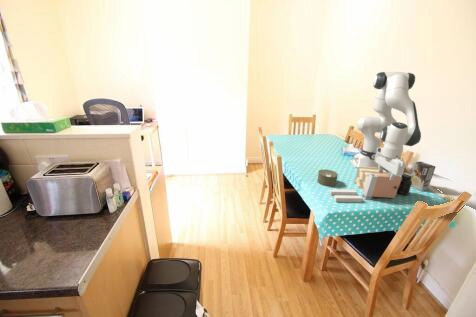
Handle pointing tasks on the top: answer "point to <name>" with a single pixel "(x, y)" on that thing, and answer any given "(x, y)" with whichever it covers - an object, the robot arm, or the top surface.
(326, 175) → the can
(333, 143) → the top surface
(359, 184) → the cabinet
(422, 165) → the coffee box
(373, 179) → the door
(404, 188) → the supplement bottle
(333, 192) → the door stand
